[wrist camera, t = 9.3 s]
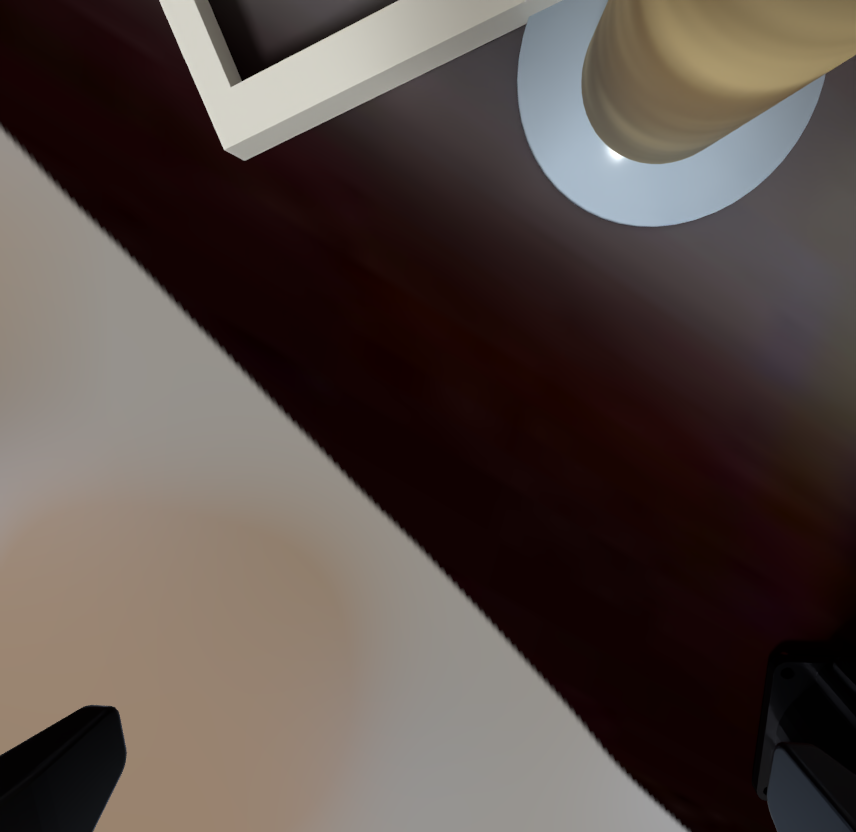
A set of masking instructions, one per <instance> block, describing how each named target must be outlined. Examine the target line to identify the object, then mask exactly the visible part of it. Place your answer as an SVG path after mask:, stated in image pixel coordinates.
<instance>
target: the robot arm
mask: <svg viewBox="0 0 856 832" xmlns="http://www.w3.org/2000/svg"><path fill="white" fill-rule="evenodd" d="M784 668H788V670H786V671H784V672H781V671H782V670H783V669H784ZM126 754H127V752H126V745H125V740H124V735H123V730H122V725H121V720H120V715H119V712H118V710H117V709H116V708H115V707H112V706H100V705H89V706H85V707H83V708H81V709H79V710H77V711H75V712H74V713H72V714H70V715H69V716H67V717H65V718H63V719H62V720H60V721H58V722H57V723H55V724H53V725H52V726H50V727H48V728H46V729H45V730H43V731H41V732H40V733H38V734H36V735H34V736H33V737H31V738H29V739H28V740H26V741H24V742H23V743H21V744H19V745H17V746H16V747H14V748H12V749H11V750H9V751H7V752H5V753H4V754H2V755H0V832H93V831H94V829H95V827H96V824H97V823H98V820H99V818H100V816H101V814H102V812H103V810H104V808H105V806H106V804H107V802H108V800H109V798H110V796H111V794H112V792H113V790H114V788H115V786H116V784H117V782H118V780H119V778H120V776H121V774H122V772H123V769H124V766H125V762H126ZM752 785H753V787H754V789H755V791H756V793H757V795H758V796H759V797H760V798H761V799H763V800H765V801H768V806H769V810H770V813H771V816H772V819H773V821H774V824H775V827H776V829H777V832H856V657H824V656H800V655H778V656H776V657H774V658H773V659H772V660H771V661H770V662H769V665H768V671H767V678H766V685H765V692H764V699H763V706H762V713H761V721H760V728H759V735H758V742H757V749H756V756H755V763H754V770H753V778H752ZM767 786H768V787H767Z"/></svg>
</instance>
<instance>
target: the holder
mask: <svg viewBox="0 0 856 832" xmlns="http://www.w3.org/2000/svg"><path fill="white" fill-rule="evenodd" d="M159 1H160V3H161V6H162V8H163V10H164V13H165V15H166V17H167V19H168V22H169V24H170V26H171V29H172V31H173V33H174V36H175V38H176V40H177V42H178V45H179V47H180V49H181V52H182V54H183V56H184V59H185V61H186V63H187V66H188V68H189V70H190V72H191V75H192V77H193V79H194V82H195V84H196V86H197V89H198V91H199V93H200V95H201V98H202V100H203V102H204V105H205V107H206V109H207V112H208V114H209V116H210V118H211V121H212V123H213V125H214V128H215V130H216V132H217V135H218V137H219V139H220V141H221V144H222V146H223V148H224V150H225V151H227V152H229V153H231V154H233V155H235V156H237V157H239V158H240V159H242V160H244V161H245V160H247V159H249V158H251V157H253V156H256V155H258V154H260V153H262V152H264V151H266V150H268V149H270V148H272V147H274V146H276V145H278V144H280V143H282V142H284V141H286V140H288V139H290V138H293V137H295V136H297V135H299V134H301V133H303V132H305V131H307V130H309V129H311V128H313V127H315V126H317V125H319V124H321V123H323V122H325V121H327V120H330V119H332V118H334V117H336V116H338V115H340V114H342V113H344V112H346V111H348V110H350V109H352V108H354V107H356V106H358V105H360V104H362V103H365V102H367V101H369V100H371V99H373V98H375V97H377V96H379V95H381V94H383V93H385V92H387V91H389V90H391V89H393V88H395V87H397V86H399V85H402V84H404V83H406V82H408V81H410V80H412V79H414V78H416V77H418V76H420V75H422V74H424V73H426V72H428V71H430V70H432V69H434V68H436V67H439V66H441V65H443V64H445V63H447V62H449V61H451V60H453V59H455V58H457V57H459V56H461V55H463V54H465V53H467V52H469V51H471V50H474V49H476V48H478V47H480V46H482V45H484V44H486V43H488V42H490V41H492V40H494V39H496V38H498V37H500V36H502V35H504V34H506V33H508V32H511V31H513V30H515V29H517V28H519V27H521V26H523V25H525V24H527V22H528V18H529V16H532V15H534V14H536V13H538V12H540V11H542V10H544V9H546V8H548V7H550V6H552V5H554V4H556V3H558V2H560V1H562V0H398V1H397V2H395V3H393V4H391V5H389V6H387V7H385V8H383V9H381V10H379V11H377V12H375V13H373V14H371V15H369V16H368V17H366V18H364V19H362V20H360V21H358V22H356V23H354V24H352V25H350V26H348V27H346V28H344V29H342V30H340V31H339V32H337V33H335V34H333V35H331V36H329V37H327V38H325V39H323V40H321V41H319V42H317V43H315V44H313V45H311V46H310V47H308V48H306V49H304V50H302V51H300V52H298V53H296V54H294V55H292V56H290V57H288V58H286V59H284V60H282V61H281V62H279V63H277V64H275V65H273V66H271V67H269V68H267V69H265V70H263V71H261V72H259V73H257V74H255V75H253V76H252V77H250V78H248V79H246V80H244V81H242V80H241V78H240V75H239V73H238V70H237V68H236V66H235V63H234V61H233V59H232V56H231V54H230V51H229V49H228V47H227V44H226V42H225V39H224V37H223V35H222V32H221V30H220V27H219V25H218V23H217V20H216V18H215V16H214V13H213V11H212V8H211V6H210V4H209V1H208V0H159Z"/></svg>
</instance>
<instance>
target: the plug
mask: <svg viewBox="0 0 856 832" xmlns="http://www.w3.org/2000/svg"><path fill="white" fill-rule="evenodd" d="M855 55H856V0H608V2H607V5H606V7H605V9H604V11H603V14H602V16H601V18H600V21H599V23H598V25H597V27H596V30H595V32H594V34H593V37H592V39H591V41H590V43H589V46H588V49H587V52H586V55H585V59H584V63H583V68H582V79H581V88H582V98H583V104H584V108H585V111H586V115H587V117H588V119H589V122H590V124H591V126H592V127H593V129H594V131H595V132H596V134H597V135H598V136H599V138H600V139H601V140H602V141H603V142H604V143H605V144H606V145H607V146H608V147H609V148H610V149H612V150H613V151H615V152H616V153H618V154H619V155H621V156H623V157H625V158H627V159H630V160H633V161H636V162H640V163H647V164H665V163H672V162H676V161H680V160H683V159H686V158H688V157H691V156H693V155H695V154H697V153H699V152H700V151H702V150H704V149H706V148H707V147H709V146H710V145H712V144H714V143H715V142H717V141H718V140H720V139H722V138H723V137H725V136H726V135H728V134H730V133H731V132H733V131H734V130H736V129H738V128H739V127H741V126H743V125H744V124H746V123H747V122H749V121H751V120H752V119H754V118H755V117H757V116H759V115H760V114H762V113H763V112H765V111H767V110H768V109H770V108H771V107H773V106H775V105H776V104H778V103H779V102H781V101H783V100H784V99H786V98H787V97H789V96H791V95H792V94H794V93H795V92H797V91H799V90H800V89H802V88H803V87H805V86H807V85H808V84H810V83H811V82H813V81H815V80H816V79H818V78H819V77H821V76H823V75H824V74H826V73H828V72H829V71H831V70H832V69H834V68H836V67H837V66H839V65H840V64H842V63H844V62H845V61H847V60H848V59H850V58H852V57H853V56H855Z"/></svg>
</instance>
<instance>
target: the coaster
mask: <svg viewBox="0 0 856 832" xmlns="http://www.w3.org/2000/svg"><path fill="white" fill-rule="evenodd" d="M607 2H608V0H562V1H560V2H558V3H556V4H554V5H552V6H550V7H548V8H546V9H544V10H542V11H540V12H538V13H536V14H534V15H532V16H529V18H528V22H527V25H526V28H525V31H524V35H523V39H522V45H521V50H520V55H519V61H518V75H517V96H518V107H519V113H520V119H521V124H522V127H523V131H524V134H525V137H526V140H527V143H528V145H529V148H530V150H531V152H532V154H533V156H534V159H535V160H536V162H537V164H538V165H539V167H540V168H541V170H542V171H543V173H544V175H545V176H546V177H547V178H548V179H549V181H550V182H551V183H552V184H553V185H554V187H555V188H556V189H557V190H558V191H559V192H560V193H562V194H563V195H564V196H565V197H566V198H567V199H568V200H569V201H571V202H572V203H574V204H575V205H577V206H578V207H580V208H581V209H583V210H584V211H586V212H588V213H590V214H592V215H595V216H597V217H599V218H601V219H604V220H607V221H611V222H614V223H617V224H622V225H628V226H634V227H661V226H670V225H676V224H680V223H684V222H689V221H692V220H696V219H698V218H701V217H704V216H706V215H709V214H712V213H715V212H717V211H719V210H721V209H722V208H724V207H726V206H728V205H730V204H732V203H734V202H735V201H737V200H738V199H740V198H741V197H743V196H744V195H746V194H747V193H749V192H750V191H752V190H753V189H754V188H755V187H756V186H758V185H759V184H760V183H761V182H762V181H763V180H765V179H766V178H767V177H768V176H769V175H770V174H771V173H772V172H773V171H774V170H775V169H776V168H777V166H778V165H779V164H780V163H781V162H782V161H783V160H784V159H785V157H786V156H787V155H788V153H789V152H790V151H791V149H792V148H793V147H794V145H795V144H796V143H797V141H798V139H799V137H800V136H801V134H802V132H803V131H804V129H805V127H806V126H807V124H808V122H809V120H810V117H811V115H812V113H813V111H814V109H815V106H816V104H817V102H818V99H819V95H820V92H821V89H822V86H823V83H824V79H825V74H824V75H823V76H821V77H819V78H818V79H816V80H815V81H813V82H811V83H810V84H808V85H807V86H805V87H803V88H802V89H800V90H799V91H797V92H795V93H794V94H792V95H791V96H789V97H787V98H786V99H784V100H783V101H781V102H779V103H778V104H776V105H775V106H773V107H771V108H770V109H768V110H767V111H765V112H763V113H762V114H760V115H759V116H757V117H755V118H754V119H752V120H751V121H749V122H747V123H746V124H744V125H743V126H741V127H739V128H738V129H736V130H734V131H733V132H731V133H730V134H728V135H726V136H725V137H723V138H722V139H720V140H718V141H717V142H715V143H714V144H712V145H710V146H709V147H707V148H706V149H704V150H702V151H700V152H699V153H697V154H695V155H693V156H691V157H688V158H686V159H683V160H680V161H676V162H672V163H665V164H647V163H640V162H636V161H633V160H630V159H627V158H625V157H623V156H621V155H619V154H618V153H616V152H615V151H613V150H612V149H610V148H609V147H608V146H607V145H606V144H605V143H604V142H603V141H602V140H601V139H600V138H599V136H598V135H597V134H596V132H595V131H594V129H593V127H592V126H591V124H590V122H589V119H588V117H587V115H586V111H585V108H584V104H583V98H582V88H581V79H582V68H583V63H584V59H585V55H586V52H587V49H588V46H589V43H590V41H591V39H592V37H593V34H594V32H595V30H596V27H597V25H598V23H599V21H600V18H601V16H602V14H603V11H604V9H605V7H606V5H607Z"/></svg>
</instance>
